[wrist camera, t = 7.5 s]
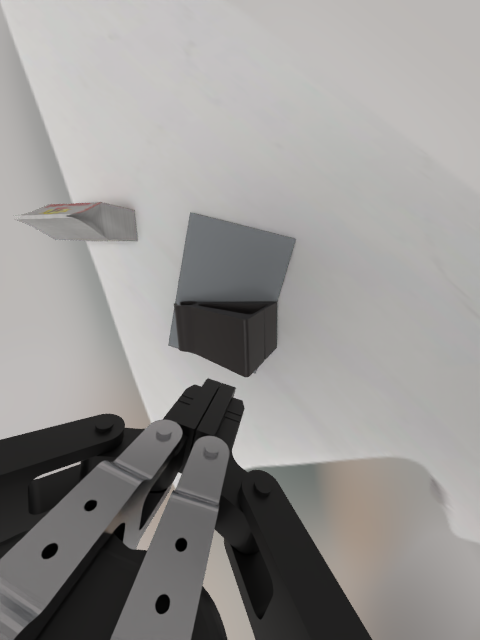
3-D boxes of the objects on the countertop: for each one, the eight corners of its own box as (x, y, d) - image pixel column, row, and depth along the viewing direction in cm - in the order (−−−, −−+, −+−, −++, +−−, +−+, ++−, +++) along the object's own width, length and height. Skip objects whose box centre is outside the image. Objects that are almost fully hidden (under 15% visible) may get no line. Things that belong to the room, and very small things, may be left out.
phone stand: (246, 319, 23) (150, 310, 29) (248, 378, 25) (157, 358, 30) (277, 300, 31) (197, 296, 36) (277, 346, 33) (201, 335, 38)
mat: (295, 239, 29) (295, 238, 29) (256, 371, 35) (255, 373, 34) (192, 213, 31) (190, 212, 30) (170, 343, 36) (168, 345, 36)
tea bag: (137, 240, 33) (76, 237, 24) (93, 241, 34) (18, 238, 25) (134, 210, 32) (69, 194, 23) (89, 212, 33) (9, 197, 24)
